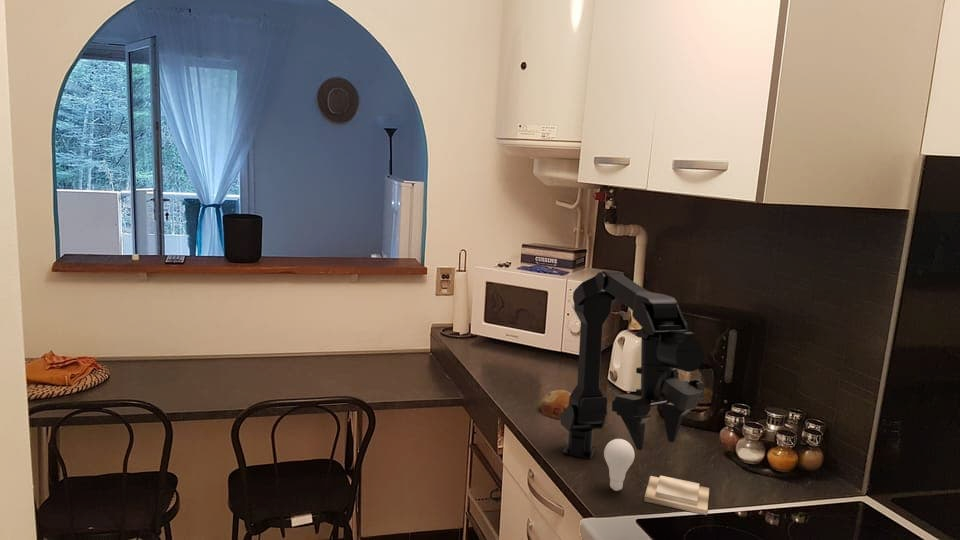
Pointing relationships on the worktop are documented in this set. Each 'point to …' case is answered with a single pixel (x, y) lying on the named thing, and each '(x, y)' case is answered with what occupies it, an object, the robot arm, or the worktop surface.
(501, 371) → the worktop surface
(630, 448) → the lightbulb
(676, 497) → the base
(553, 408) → the bread roll
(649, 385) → the robot arm
